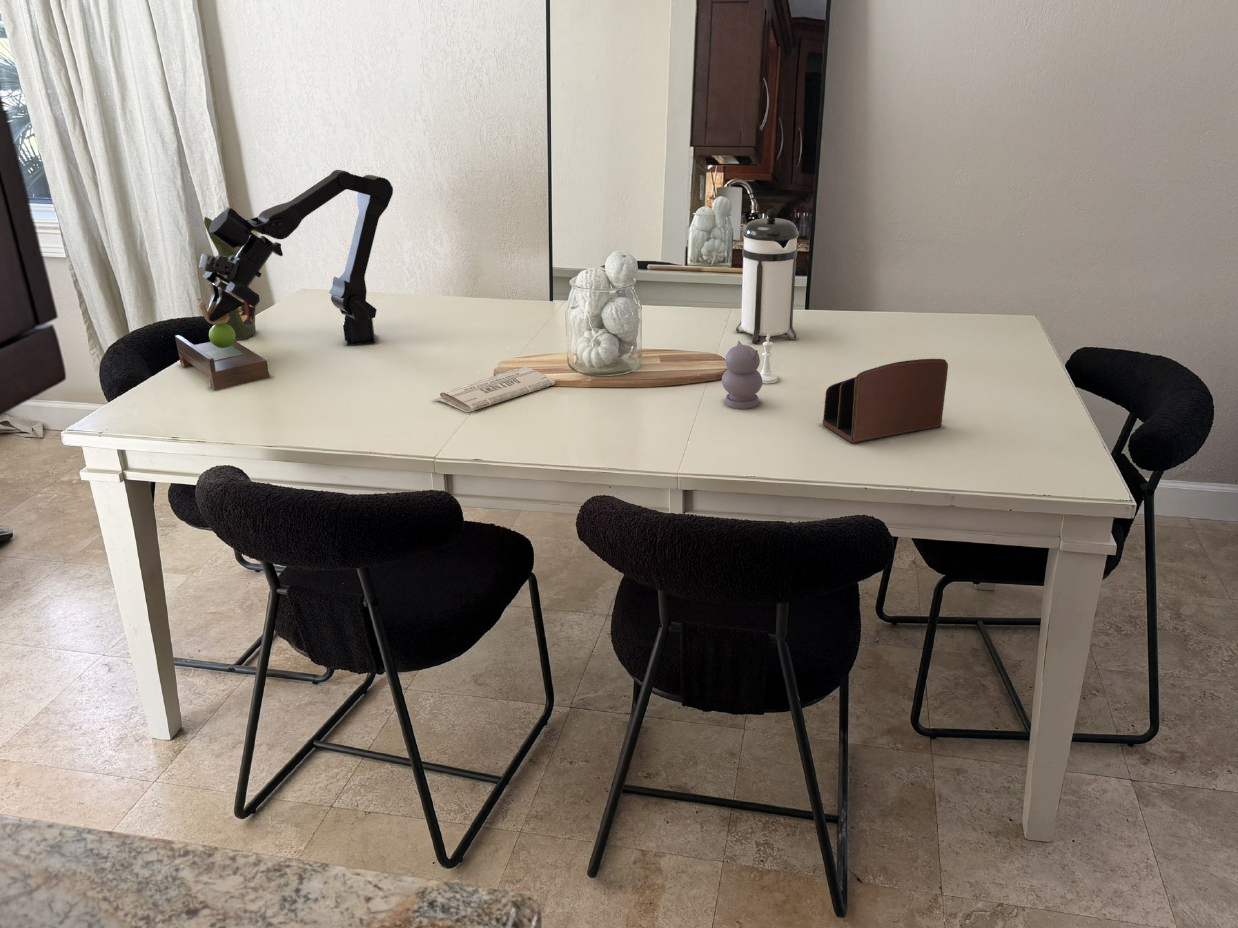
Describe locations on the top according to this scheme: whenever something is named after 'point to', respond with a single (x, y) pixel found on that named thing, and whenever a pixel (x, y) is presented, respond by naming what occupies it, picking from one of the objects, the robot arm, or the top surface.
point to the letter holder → (888, 400)
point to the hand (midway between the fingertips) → (209, 319)
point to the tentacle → (244, 315)
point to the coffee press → (768, 277)
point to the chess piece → (767, 364)
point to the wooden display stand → (223, 363)
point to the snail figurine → (218, 328)
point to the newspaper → (496, 389)
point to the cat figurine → (742, 377)
